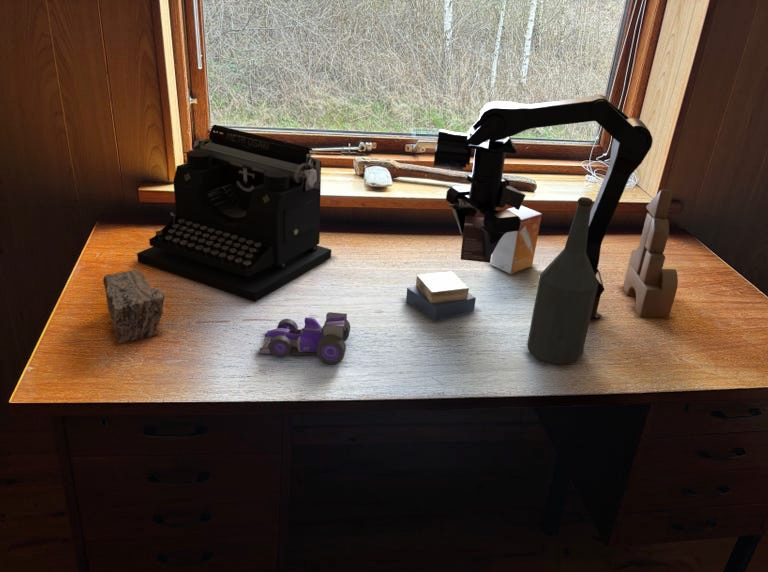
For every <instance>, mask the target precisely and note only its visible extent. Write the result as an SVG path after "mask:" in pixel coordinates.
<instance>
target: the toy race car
mask: <svg viewBox="0 0 768 572" xmlns="http://www.w3.org/2000/svg"><path fill="white" fill-rule="evenodd" d="M350 332H351V324H350V322H349V320H348V314H347V313H343V312H333V311H331V312H330V311H329V312H327V313H326V315H325V321H324V324H323V326H322V325H320V323H319V321H317V319H316V318H314V317H308V316H307V317H306V316H305V318H304V327H303V328H300V329H299V326H298V324H297V322H296V321H294V320H293V319H290V318H283V319H281V320H280V321H279V322H278V324H277V325H276V328H272V329H269V330H267V331H266V332H265V333H264V334H263V336H264V338H266V340H265V342H264V345H263V347H260V348H259V354H262V355H273V356H275V357H277V358H285V357H288V355H291V356H317V358H318V360H320V361H321V362H323V363H324V364H327V365H337V364H339V363H340V362H342V361H343V359H344V357H345V354H346V348H347V345H346V343H345V342H346V341H347V340H348V338H349V337H350Z"/></svg>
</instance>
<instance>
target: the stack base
mask: <svg viewBox="0 0 768 572" xmlns="http://www.w3.org/2000/svg"><path fill="white" fill-rule="evenodd" d="M476 299H477V298H476V297H475V296H474V295H472V294H471V293H469V292H468V299H465V300H457V301H448V302H439V303H430V302H429V301H428V299H427V298H426V297H425V296H424V295H423V294H422V292H421V291H420V290H419V289H418V288H417V287H416V285H413V286H409V287H406V297H405V301H406V302H407V303H408V304H410V305H411V306H413V307H414V308H416V309H417V310H418V311H420V312H421V313H423V314H424V315H425V316H427V317H428V318H430V319H431V320H433V321H434V322H438V321H442V320H445V319H451V318H453V317H457V316H459V315H463V314H467V313H470V312H473V311H475V307H476Z"/></svg>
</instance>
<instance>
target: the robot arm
mask: <svg viewBox="0 0 768 572" xmlns="http://www.w3.org/2000/svg"><path fill="white" fill-rule="evenodd" d="M588 122H589V123H590V122H596V123H597V124H598V125H599V126H600V127H602V129H604V131H606V132H607V133H608V134H609V135H610V136H611V137H612V138H613V139H612V144H611V149H610V157H609V165H608V168H607V171H606V173H605V175H604V178H603V180H602V183H601V185H600V187H599V189H598V193H597V195H596V198H595V200H594V202H593V204H592V206H591V209H590V219H589V228H588V238H587V248H586V253H587V256H588V258H589V261H590V263H591V266H592V268H593V271H594V273H595V276H596V278H597V281H598V283H599V284H598V288H597V293H596V297H595V301H594V306H593V310H592V314H591V319H590V321H594V320H599V319H602V315H601V314H600V313H599V312H598V308H599V305H600V299H601V296H602V294H603V292H604V291H605V287H604V283H603V279H602V275H601V272H600V270H599V269H598V268H599V263H600V256H601V248H602V244H603V240H604V238H605V236H606V234H607V231H608V230H609V226H610V224H611V222H612V219H613V217H614V215H615V212H616V210H617V209H618V206H619V203H620V201H621V199H622V196H623V194H624V191H625V188H626V186H627V184H628V182H629V179H630V177H631V176H632V174H633V173H634V172H635V171H636V170H637V169H638V167H640V166H641V164H642V163H643V161H644V160H645V158H646V156H648V154H649V152H650V150H651V148H652V145H653V140H654V139H653V135H652V133H651V131H650V130H649V128H648V127H647V125H646V124H645V123H644V122H643V121H642V120H641V119H639V118H636V117H628V115H627V114H625V113H624V112H623V111H622V110H620V109H619V108H618V107H617V106H615V105H614V104H613V103H612V102H611V101H610V100H609V99H608V98H607V97H606V96H605V95H603V94H597V93H596V94H594V95H592V96H585V97H578V98H569V99H562V100H561V99H560V100H553V101H546V102H537V103H520V102H515V101H504V100H503V101H501V100H493V101H490V102H487V103H485V105H484V106H483V107H482V108H481V109H480V112H479V118H478V119H477V121H475V123H474V124H472V126H470V128H468V130H467V133H465V132H458V131H450V130H447V129H443V128H442V129H439V130H438V135H437V141H436V147H435V150H434V158H433V168H439V169H440V168H441V169H450V170H458V171H464V169H466V168H467V166H470V164H471V158H472V157H471V156H472V149H474V156H473V165H472V173H471V174H467V175H466V181H468V182H469V183H470V184H466V185H454V186H451V187H450V188H448V190H447V191H446V194H445V195H446V196H445V201H446V202H447V203H449V207H450V208H451V210H452V213H453V216H454V218H455V221H456V224H457V226H458V229H459V233H460V236H461V238H462V239H463V231H464V224H465V218H466V215H468V216H476V214H477V213H480V214H482V215H483V217H484V226H481V233H482V241H483V250H484V255H485V257H486V258H489V257H491V258H492V253H493V251H494V250H495V248H496V246H497V244H498V242H499V241H500V239H501V238H502V236H503V235H504V234H505V233H507V232H513V231H519V230H520V226H521V219H520V218H519V216H517V215H516V214H514V213H513V212H511V211H510V210H507V209H502V208H505V207H506V206H509V207H511V208H514V207H515V209H517V210H519V209H520V206H521V205H522V204H523V202H524V200H525V198H526V194H525V193H524V192H522V191H520V190H518V189H517V188H515V187H513V186H511V185H510V184H511V183H510V180H508V179H507V178H505V177H503V174H504V167H505V160H506V155H507V154H516V153H517V145H516V144H515V143H514V142H513V141H512V138H511V137H513V136H516V135H518V134H520V133H523V132H525V131H528V130H531V129H538V128H546V127H548V128H549V127H556V126H565V125H572V124H582V123H588ZM497 208H499V209H501V210H496V209H497Z"/></svg>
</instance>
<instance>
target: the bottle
mask: <svg viewBox="0 0 768 572" xmlns="http://www.w3.org/2000/svg"><path fill="white" fill-rule="evenodd" d="M593 204H594V202H593V199H592V198H590V197H585V196H580V197H579V198H578V199H577V207H576V210H575V213H574V217H573V219H572V223H571V226H570V229H569V233H568V235H567V238H566V242H565V244H564V248H563V249H562V250H561V251H560V253H559V254H558V255H557V256H555V258H554V259H553V260H552V261H551V262H550V263H549V264H548V265H547V266H546V267H545V268H544V270H542V271H541V273H540V274H539V278H538V283H537V289H536V294H535V300H534V305H533V310H532V316H531V320H530V327H529V332H528V337H527V343H526V346H527V350H528V352H529V354H530V355H531V356H533V357H534V358H535V360H536V361H538V362H540V363H543V364H545V365H550V366H557V367H564V366H569V365H574V364H576V362H577V361H579V359H580V357H581V356H582V355H583V353H584V348H585V345H586V340H587V336H588V331H589V327H590V324H591V323H590V322H591V320H590V319H591V314H592V310H593V306H594V301H595V297H596V293H597V288H598V284H599V283H598V281H597V278H596V276H595V273H594V271H593V268H592V266H591V263H590V261H589V258H588V256H587V253H586V248H587V238H588V228H589V219H590V212H591V210H592V206H593Z"/></svg>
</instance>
